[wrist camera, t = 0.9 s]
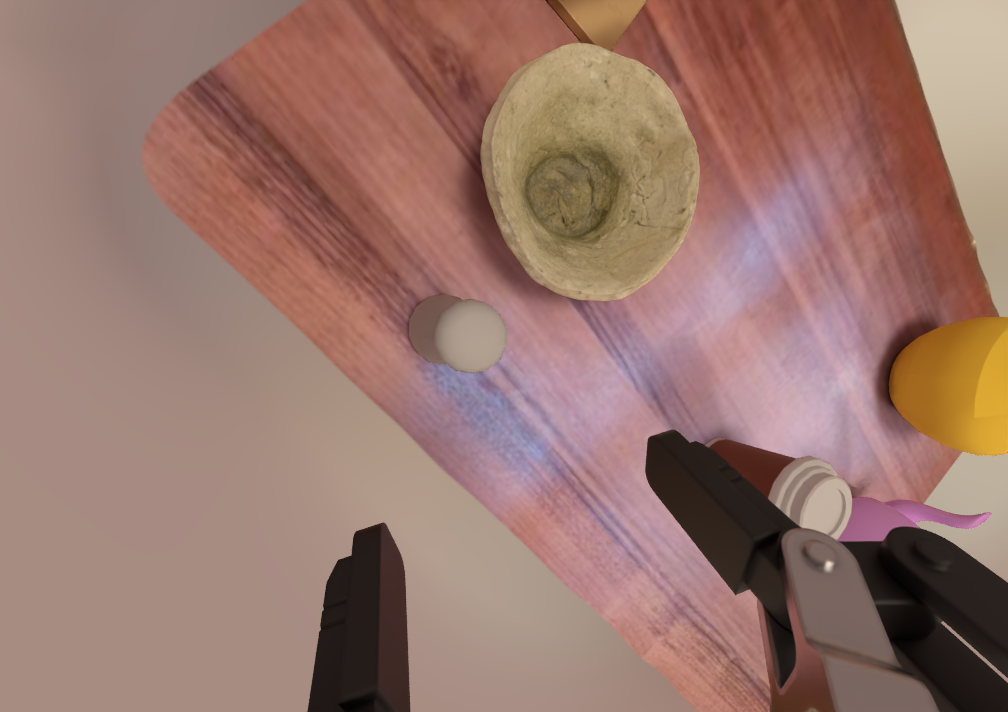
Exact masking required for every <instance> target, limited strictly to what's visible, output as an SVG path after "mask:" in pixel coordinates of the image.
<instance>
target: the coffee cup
mask: <svg viewBox="0 0 1008 712" xmlns="http://www.w3.org/2000/svg"><path fill="white" fill-rule="evenodd" d="M705 446H707V447H709V448H711V449H712V450H714V451H716V452H717V453H718V454H719V455H720V456H721V457H722V458H723V459H725V460H726V461H727V462H728V463H729V464H730V466H731V467H733V468H735V469H736V470H737V471H738V472H739V473H740V474H741V475H742V477H743V478H746V479H747V480H748V481H749V482H750V483H751V484H752V485H753V486H755V487H756V488H757V489H758V490H759V491H760V492H761V493H762V494H763V495H764V496H766V497H767V498H768V499H769V500H770V501H771V502H772V503H773V504H774V505H776V506H777V507H778V508H779V509H780V510H781V511H782V512H783V513H784V514H786V515H787V516H788V517H789V518H790V519H791V520H792V521H794V522H795V523H796V524H797V525H799V526H800V527H802V528H808V529H813V530H817V531H820V532H822V533H825V534H827V535H829V536H831V537H832V538H834V539H836V540H837V539H838V538H839V537H840V535H841V534H842V532H843V531H844V529H845V528H846V526H847V523H848V520H849V518H850V515H851V509H852V496H851V491H850V488H849V486H848V485H847V484H846V482H845V481H844V479H842V478H839V477H837V474H836V472H835V471H834V470H833V468H832V467H831V466H830V464H829V463H828V462H825V461H823V460H820V459H817V458H815V457H812V456H806V457H802V458H797V459H796V458H792V457H788V456H785V455H781V454H778V453H774V452H770V451H767V450H763V449H759V448H756V447H752V446H749V445H745V444H741V443H738V442H734V441H730V440H727V439H724V438H716V439H712V440H711V441H709V442H708V443H706V444H705Z"/></svg>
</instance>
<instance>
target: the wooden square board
mask: <svg viewBox="0 0 1008 712" xmlns="http://www.w3.org/2000/svg"><path fill="white" fill-rule="evenodd" d="M547 1H548V3H549V4H550V5H551V6H552V7H553V9H554V10H555V11H556V12H557V13H558V15H559V16H560V17H561V18H562V19H563V20H564V22H565V23H566V24H567V25H568V26H569V28H570V29H571V30H572V31H573V32H574V34H575V35H576V36H577V37H578V38H579V40H580V41H581V42H582V43H587V44H592V45H597V46H600V47H602V48H604V49H607V50H609V51H611V50H612V49H613V47H614V46H615V44H616V43H617V41H618V40H619V39H620V37H621V36H622V34H623V33H624V32H625V30H626V29H627V27H628V26H629V25H630V23H631V22H632V20H633V19H634V18H635V16H636V15H637V13H638V12H639V11H640V9H641V8H642V6H643V5H644V4H645V2H646V1H647V0H547Z"/></svg>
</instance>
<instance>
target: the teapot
mask: <svg viewBox="0 0 1008 712" xmlns="http://www.w3.org/2000/svg"><path fill="white" fill-rule="evenodd" d="M990 515H991V513H990V512H988V513H983V514H978V515H958V514H952V513H948V512H945V511H942V510H939V509H936V508H933V507H931V506H928V505H925V504H922V503H918V502H914V501H910V500H892V501H889V502H885V503H883V502H880V501H878V500H876V499H873V498H868V497H857V498H852V509H851V515H850V518H849V520H848V523H847V526H846V528H845V529H844V531H843V532H842V534H841V535H840V537H839V538H838V539H837V541H883V540H884V539H885V537H886V536H887V534H888V532H889V531H890V530H891V529H893V528H896V527H901V526H908V527H915V528H920V527H918V526H917V525H916V524H915V523H916V522H919V521H934V522H938V523H942V524H945V525H948V526H952V527H956V528H962V529H963V528H964V529H969V528H974V527H977V526H979V525H981V524H982V523H983V522H985V521H986V520H987V519H988V518H989V517H990ZM920 529H921V528H920Z"/></svg>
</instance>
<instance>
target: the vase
mask: <svg viewBox="0 0 1008 712" xmlns="http://www.w3.org/2000/svg"><path fill="white" fill-rule="evenodd" d="M889 393H890V397H891V400H892V402H893V404H894V405H895V407H896V409H897V410H898V412H899V413H900V414H901V415H902V416H903V417H904V418H905V419H906V420H907V421H908V422H909V423H910V424H911V425H912V426H913V427H914V428H916V429H917V430H918V431H919V432H921V433H923V434H924V435H926V436H928V437H930V438H932V439H934V440H936V441H937V442H939V443H941V444H943V445H945V446H947V447H950V448H952V449H955V450H959V451H963V452H967V453H971V454H975V455H1002V454H1006V453H1008V317H977V318H973V319H968V320H964V321H960V322H956V323H952V324H948V325H944V326H942V327H939V328H936V329H934V330H932V331H930V332H928V333H926V334H924V335H922V336H919V337H918V338H916V339H915V340H914V341H913V342H911V343H910V344H909V345H908V346H906V347H905V348H904V349H903V350H902V351H901V352H900V353H899V354H898V356H897V357H896V359H895V361H894V363H893V366H892V369H891V372H890V378H889Z"/></svg>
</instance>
